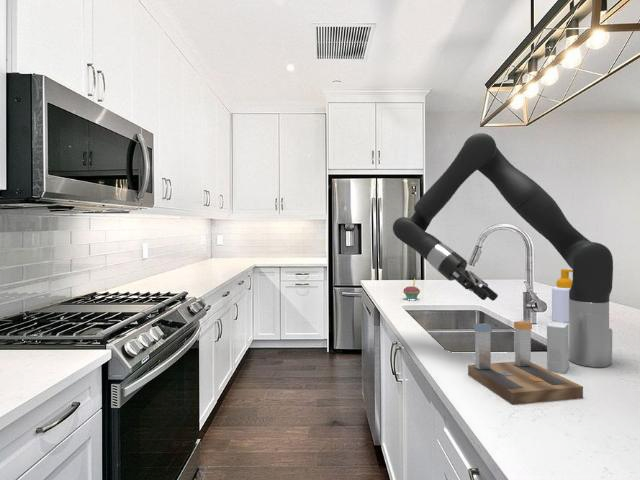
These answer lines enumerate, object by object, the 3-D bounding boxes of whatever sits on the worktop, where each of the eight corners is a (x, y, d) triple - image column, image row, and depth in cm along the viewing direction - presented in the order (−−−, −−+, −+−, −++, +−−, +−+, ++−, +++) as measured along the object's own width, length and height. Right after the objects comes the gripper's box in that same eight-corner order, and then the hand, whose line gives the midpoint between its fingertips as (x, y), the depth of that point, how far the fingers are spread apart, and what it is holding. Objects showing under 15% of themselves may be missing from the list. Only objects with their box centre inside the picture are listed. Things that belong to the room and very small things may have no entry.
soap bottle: (569, 324, 155) (569, 271, 155) (546, 320, 162) (546, 270, 161) (582, 319, 164) (582, 268, 163) (560, 316, 170) (560, 267, 169)
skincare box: (550, 364, 111) (550, 320, 110) (569, 367, 108) (569, 322, 108) (546, 370, 106) (546, 325, 106) (565, 374, 103) (565, 327, 103)
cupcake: (422, 299, 214) (421, 276, 214) (416, 301, 207) (416, 278, 207) (406, 298, 219) (406, 275, 219) (400, 300, 212) (400, 277, 211)
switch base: (527, 369, 107) (527, 359, 107) (583, 397, 89) (583, 385, 89) (468, 374, 104) (468, 364, 104) (512, 404, 86) (512, 392, 86)
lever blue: (486, 365, 102) (486, 323, 102) (491, 368, 100) (491, 325, 100) (474, 366, 101) (474, 323, 101) (479, 369, 99) (478, 326, 99)
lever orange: (526, 362, 104) (526, 320, 104) (531, 365, 102) (531, 322, 101) (514, 363, 103) (514, 321, 103) (519, 366, 101) (519, 323, 101)
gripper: (445, 248, 113) (492, 286, 104) (462, 254, 124) (507, 288, 115) (428, 269, 116) (474, 308, 106) (447, 272, 127) (490, 308, 117)
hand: (491, 298), depth 111 cm, fingers open, 8 cm apart
